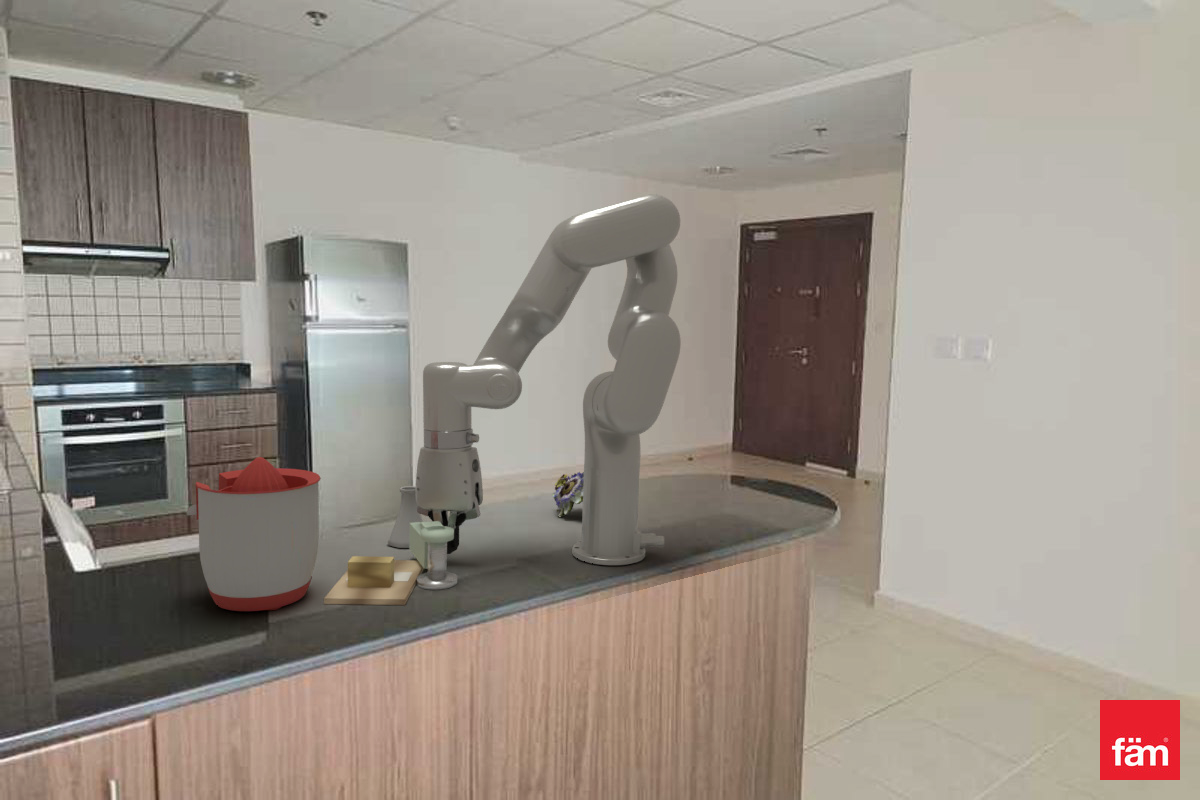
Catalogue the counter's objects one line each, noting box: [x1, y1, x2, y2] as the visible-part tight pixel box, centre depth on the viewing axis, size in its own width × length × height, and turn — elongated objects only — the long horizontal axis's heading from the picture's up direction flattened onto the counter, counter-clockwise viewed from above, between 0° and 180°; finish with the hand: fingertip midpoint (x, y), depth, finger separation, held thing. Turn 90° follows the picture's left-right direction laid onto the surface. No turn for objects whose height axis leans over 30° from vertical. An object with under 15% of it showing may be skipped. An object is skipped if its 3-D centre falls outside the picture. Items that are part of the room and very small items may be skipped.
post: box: [416, 542, 458, 591], centre depth 114 cm, size 6×6×7 cm
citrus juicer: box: [186, 456, 321, 612], centre depth 104 cm, size 16×17×20 cm
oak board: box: [323, 555, 425, 606], centre depth 113 cm, size 11×17×4 cm, turn 3°
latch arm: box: [408, 521, 454, 570], centre depth 118 cm, size 15×5×6 cm, turn 26°
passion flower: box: [551, 471, 584, 517], centre depth 156 cm, size 11×11×12 cm
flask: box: [386, 485, 424, 549], centre depth 133 cm, size 7×7×10 cm
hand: (448, 551), depth 123 cm, fingers closed
